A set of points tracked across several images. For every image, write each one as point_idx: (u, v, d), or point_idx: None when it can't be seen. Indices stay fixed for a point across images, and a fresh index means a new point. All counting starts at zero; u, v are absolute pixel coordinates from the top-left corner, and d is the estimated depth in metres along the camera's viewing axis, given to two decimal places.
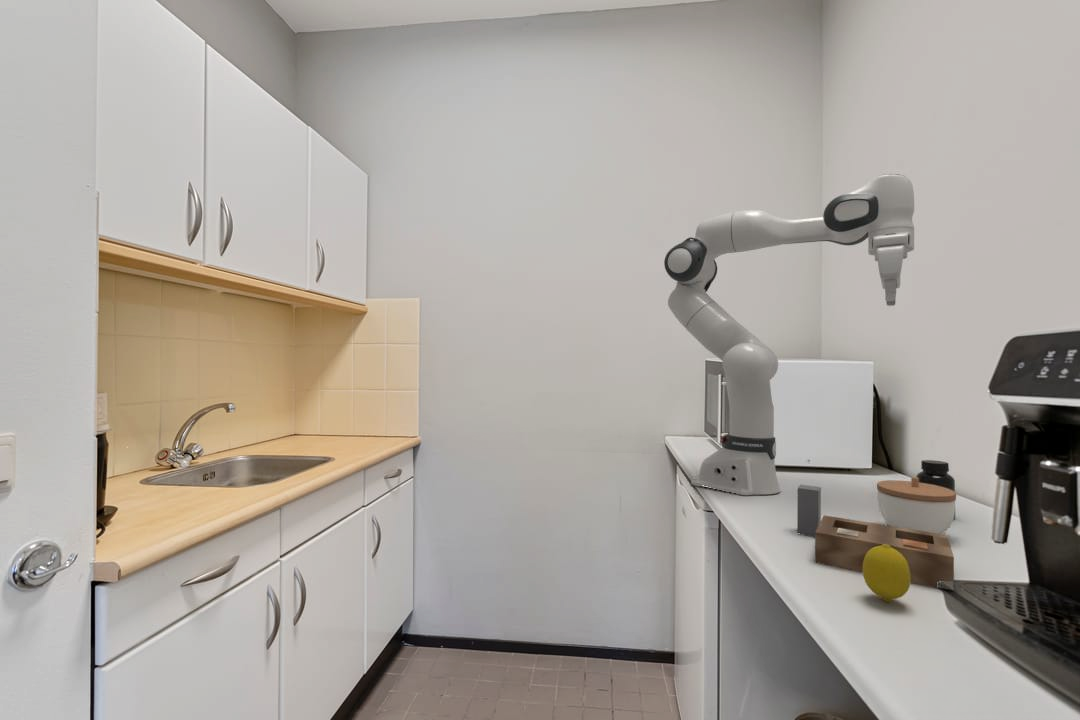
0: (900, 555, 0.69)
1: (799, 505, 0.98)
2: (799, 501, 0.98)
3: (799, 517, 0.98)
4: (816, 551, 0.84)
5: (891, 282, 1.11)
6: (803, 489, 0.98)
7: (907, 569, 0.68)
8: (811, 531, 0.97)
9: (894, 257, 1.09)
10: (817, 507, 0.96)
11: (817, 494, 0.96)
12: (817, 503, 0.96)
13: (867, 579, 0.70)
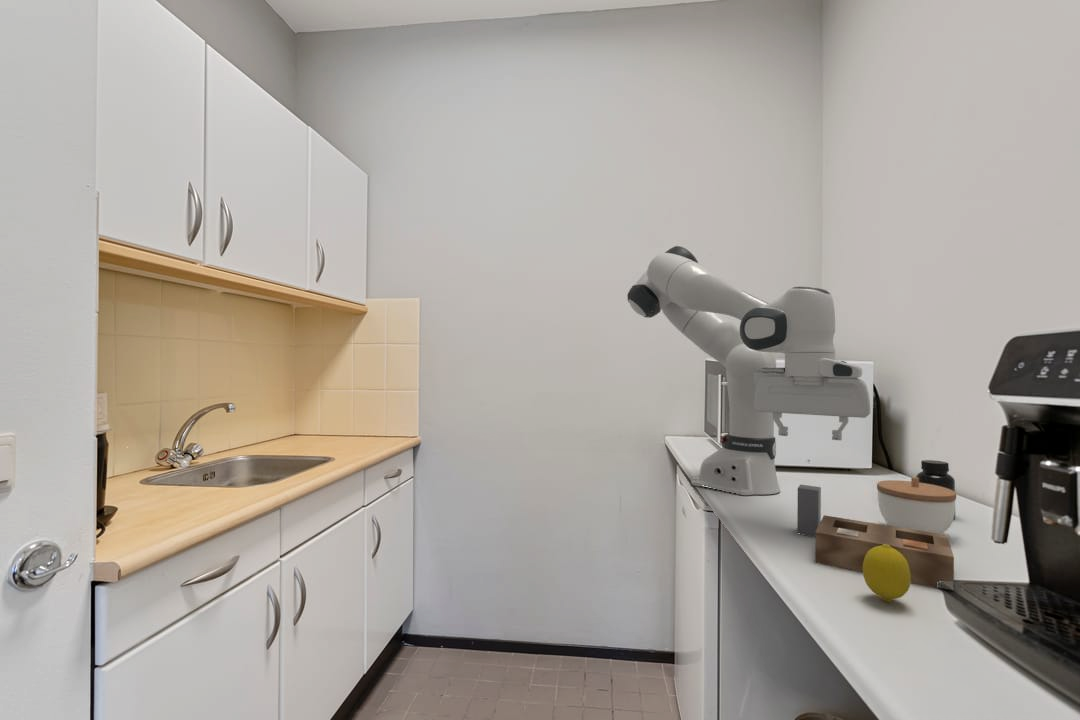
0: (900, 555, 0.69)
1: (799, 505, 0.98)
2: (799, 501, 0.98)
3: (799, 517, 0.98)
4: (816, 551, 0.84)
5: None
6: (803, 489, 0.98)
7: (907, 569, 0.68)
8: (811, 531, 0.97)
9: (868, 394, 0.94)
10: (817, 507, 0.96)
11: (817, 494, 0.96)
12: (817, 503, 0.96)
13: (867, 579, 0.70)
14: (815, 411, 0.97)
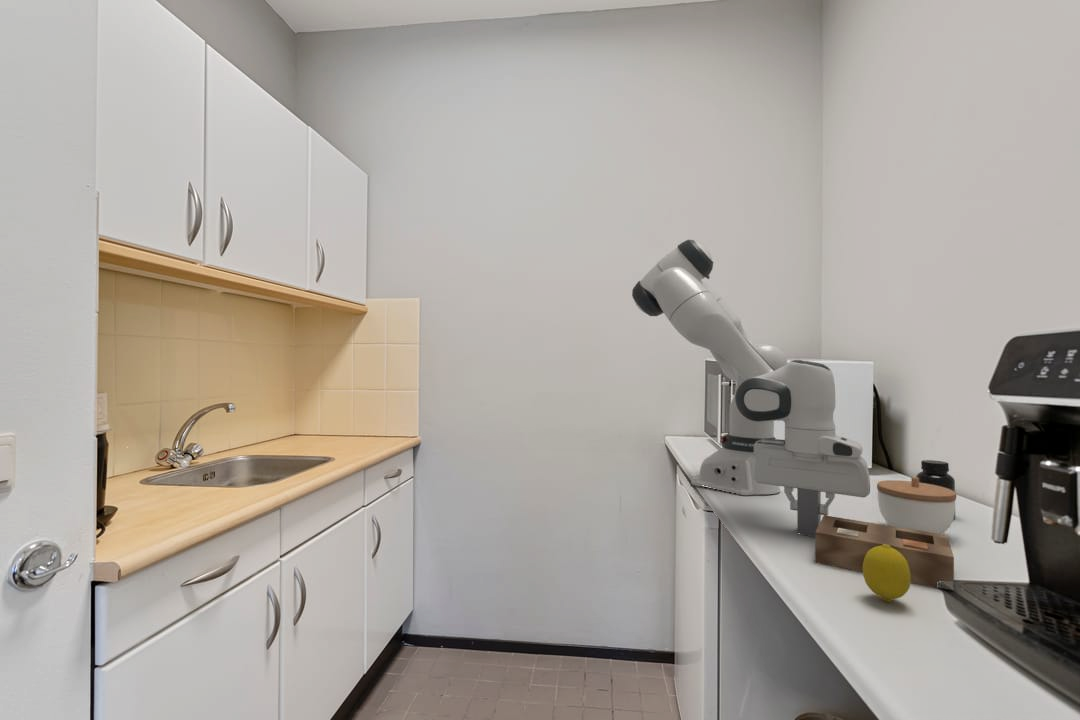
0: (900, 555, 0.69)
1: (799, 505, 0.98)
2: (799, 501, 0.98)
3: (798, 516, 0.98)
4: (816, 551, 0.84)
5: (834, 495, 0.96)
6: (803, 489, 0.98)
7: (907, 569, 0.68)
8: (811, 531, 0.97)
9: (868, 472, 0.94)
10: (817, 507, 0.96)
11: (817, 494, 0.96)
12: (817, 503, 0.96)
13: (867, 579, 0.70)
14: (815, 487, 0.96)
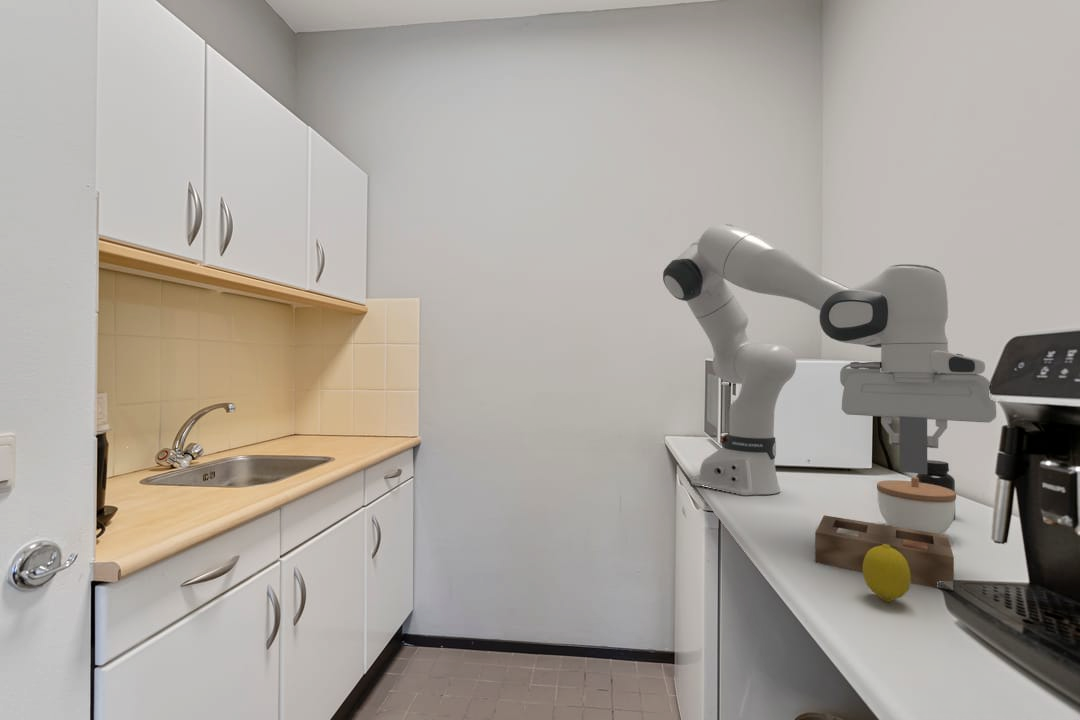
0: (900, 555, 0.69)
1: (902, 437, 0.82)
2: (902, 432, 0.82)
3: (901, 451, 0.82)
4: (816, 551, 0.84)
5: None
6: (907, 418, 0.81)
7: (907, 569, 0.68)
8: (918, 467, 0.80)
9: None
10: (926, 438, 0.80)
11: (925, 422, 0.80)
12: (926, 433, 0.80)
13: (867, 579, 0.70)
14: (923, 414, 0.80)
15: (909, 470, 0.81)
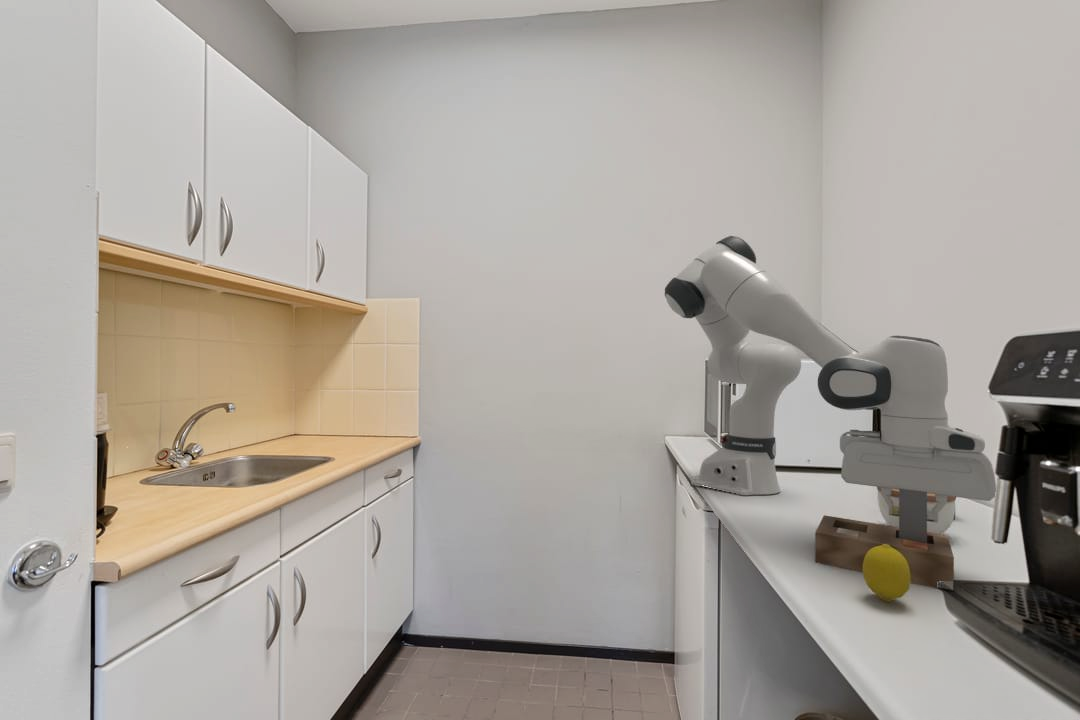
0: (900, 555, 0.69)
1: (901, 510, 0.81)
2: (901, 505, 0.81)
3: (901, 524, 0.81)
4: (816, 551, 0.84)
5: None
6: (906, 490, 0.81)
7: (907, 569, 0.68)
8: None
9: None
10: (925, 512, 0.80)
11: (925, 496, 0.80)
12: (925, 507, 0.80)
13: (867, 579, 0.70)
14: (923, 488, 0.80)
15: None
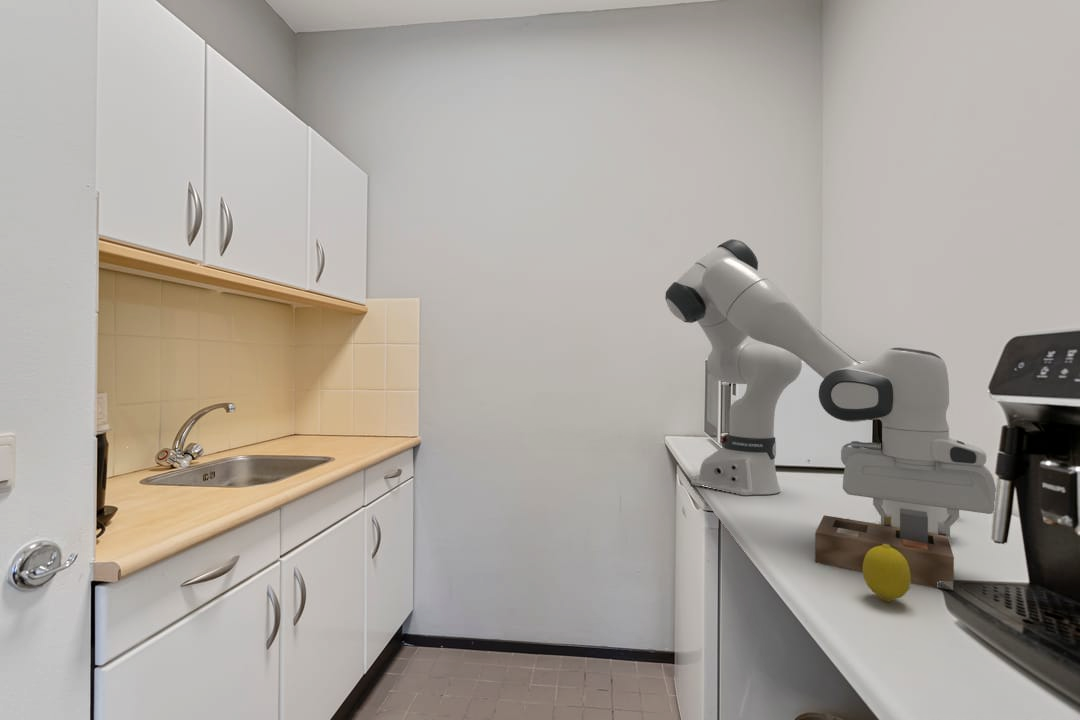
0: (900, 555, 0.69)
1: (902, 534, 0.81)
2: (902, 529, 0.82)
3: None
4: (816, 551, 0.84)
5: None
6: (907, 515, 0.81)
7: (907, 569, 0.68)
8: None
9: None
10: (926, 537, 0.80)
11: (926, 521, 0.80)
12: (926, 532, 0.80)
13: (867, 579, 0.70)
14: (924, 501, 0.80)
15: None
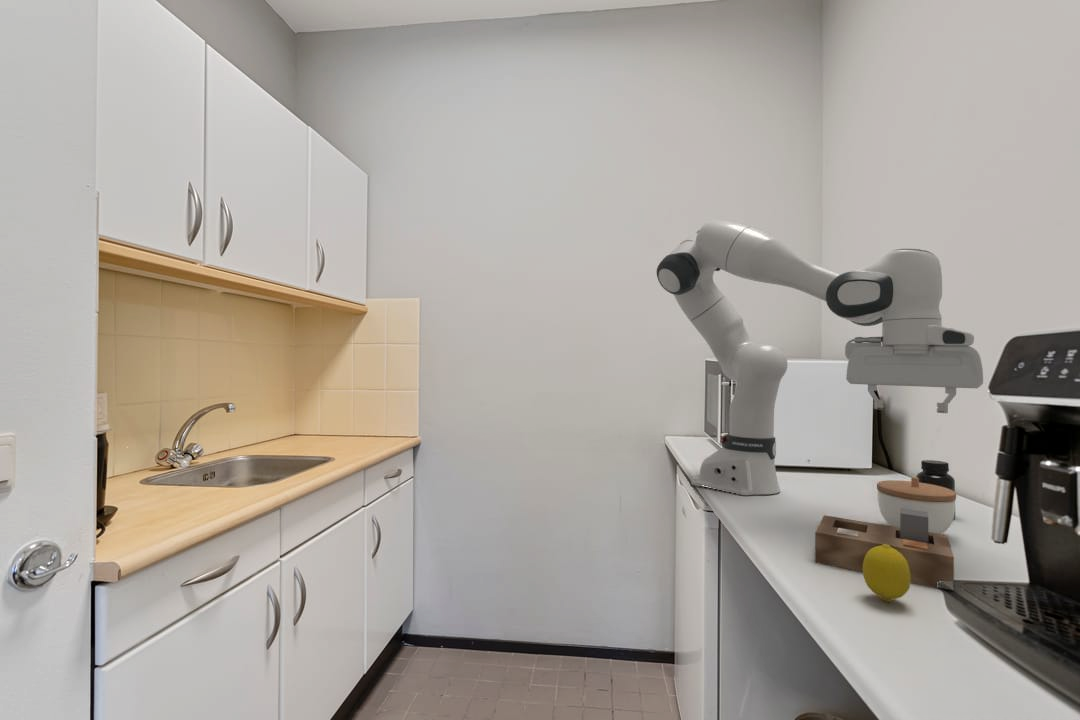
0: (900, 555, 0.69)
1: (903, 534, 0.81)
2: (902, 529, 0.82)
3: None
4: (816, 551, 0.84)
5: None
6: (908, 515, 0.81)
7: (907, 569, 0.68)
8: None
9: None
10: (927, 537, 0.80)
11: (926, 521, 0.80)
12: (927, 532, 0.80)
13: (867, 579, 0.70)
14: (919, 382, 0.90)
15: None
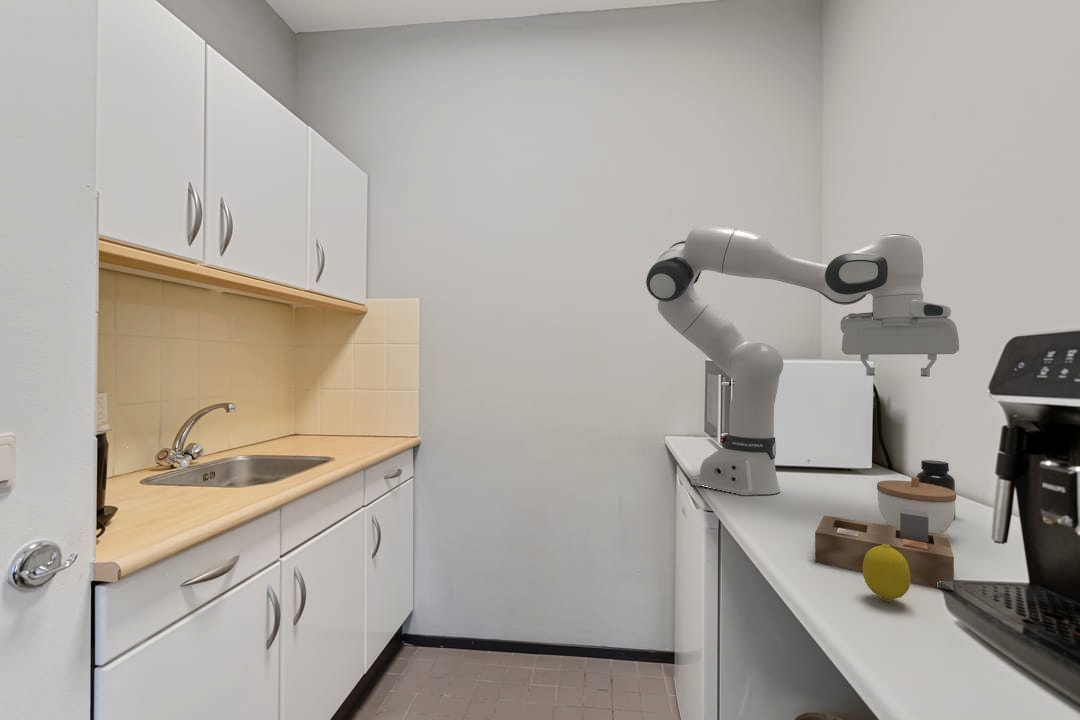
0: (900, 555, 0.69)
1: (903, 534, 0.81)
2: (902, 529, 0.82)
3: None
4: (816, 551, 0.84)
5: None
6: (908, 515, 0.81)
7: (907, 569, 0.68)
8: None
9: None
10: (927, 537, 0.80)
11: (926, 521, 0.80)
12: (927, 532, 0.80)
13: (867, 579, 0.70)
14: (904, 350, 1.04)
15: None
